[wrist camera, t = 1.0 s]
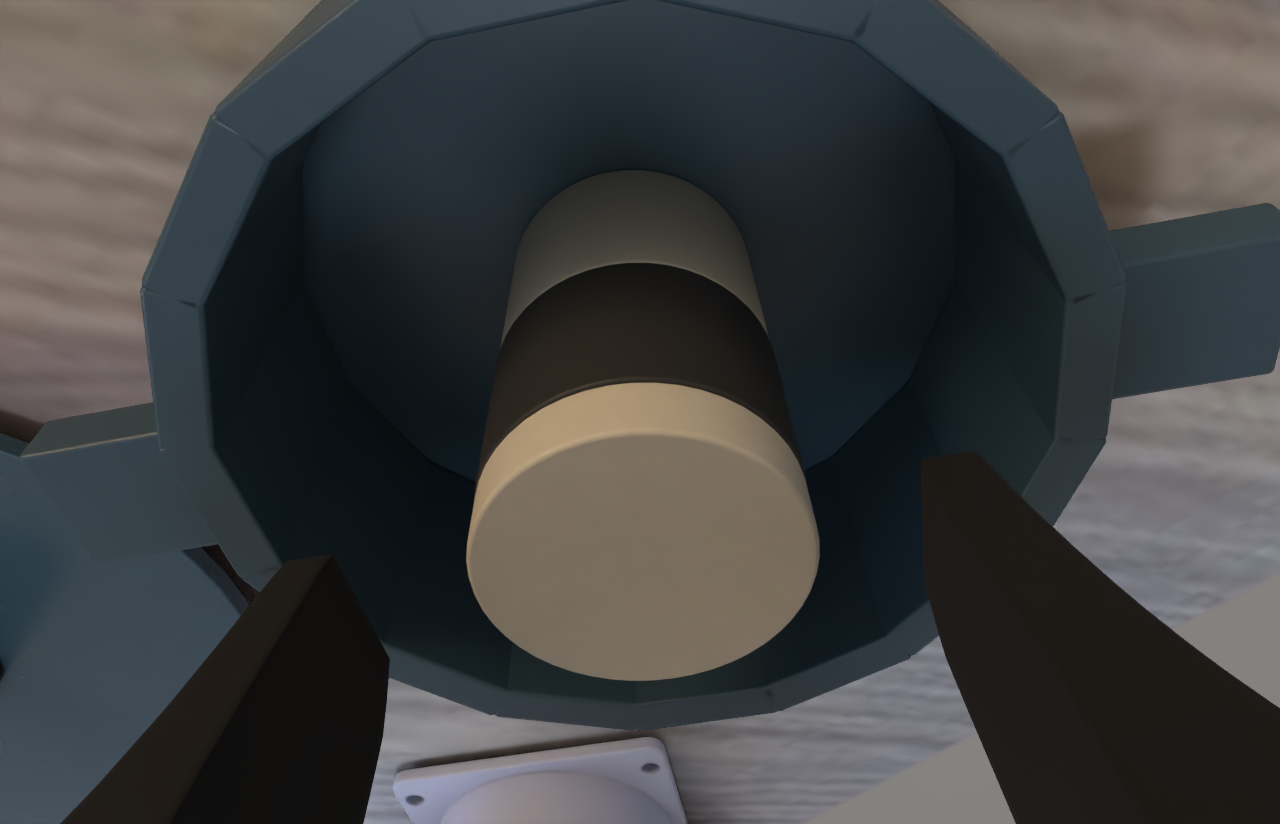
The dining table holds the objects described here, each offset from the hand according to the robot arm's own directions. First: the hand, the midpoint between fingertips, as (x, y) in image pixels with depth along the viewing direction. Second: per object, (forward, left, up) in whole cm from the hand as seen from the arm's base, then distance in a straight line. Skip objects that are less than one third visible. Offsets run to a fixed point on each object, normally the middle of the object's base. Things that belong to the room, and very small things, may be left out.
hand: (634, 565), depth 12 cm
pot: (0, 0, -8) cm, 8 cm away
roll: (0, 0, -8) cm, 8 cm away
